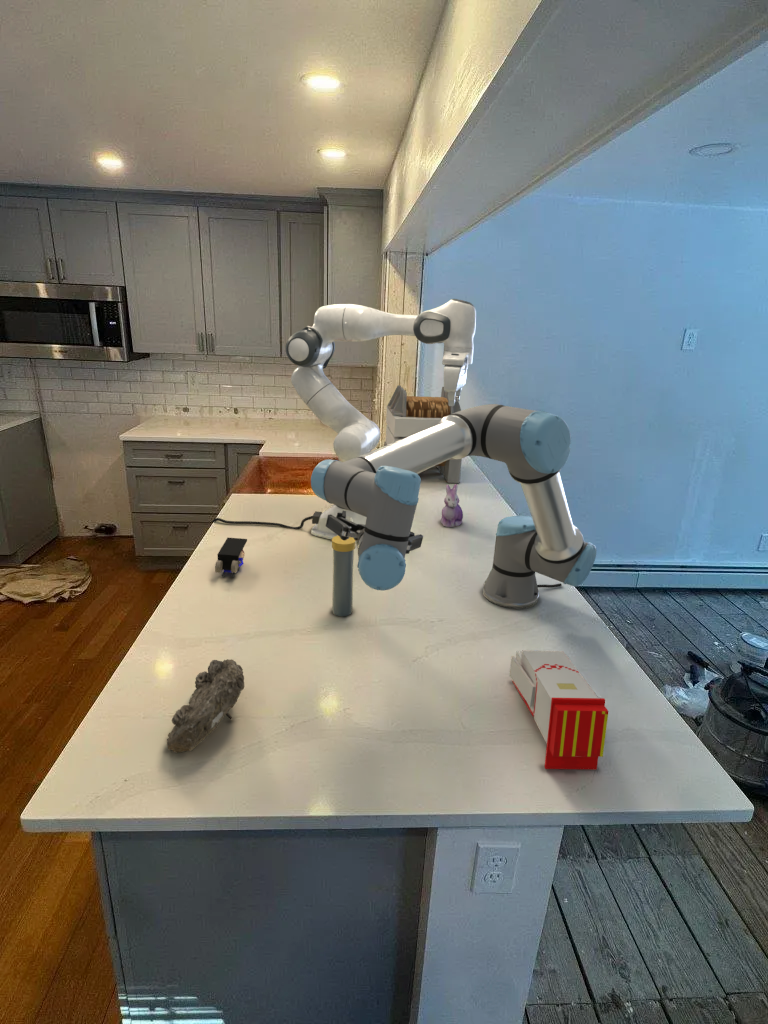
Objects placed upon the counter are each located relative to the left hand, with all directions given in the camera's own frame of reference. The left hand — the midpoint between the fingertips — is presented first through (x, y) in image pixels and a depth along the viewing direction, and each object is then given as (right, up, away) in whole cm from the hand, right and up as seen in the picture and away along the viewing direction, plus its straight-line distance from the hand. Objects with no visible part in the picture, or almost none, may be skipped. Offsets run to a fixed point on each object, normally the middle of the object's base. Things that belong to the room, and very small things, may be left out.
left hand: (454, 403), depth 174 cm
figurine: (+4, -38, +37) cm, 53 cm away
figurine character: (-66, -50, -7) cm, 84 cm away
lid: (-32, -41, -33) cm, 61 cm away
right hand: (-24, -36, -50) cm, 66 cm away
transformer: (-4, -15, +101) cm, 102 cm away
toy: (+11, -74, -62) cm, 97 cm away
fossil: (-54, -72, -66) cm, 112 cm away
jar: (-32, -59, -27) cm, 73 cm away
